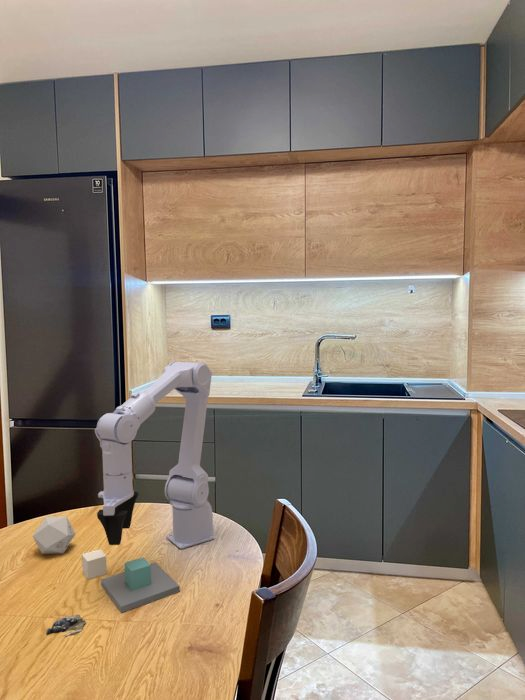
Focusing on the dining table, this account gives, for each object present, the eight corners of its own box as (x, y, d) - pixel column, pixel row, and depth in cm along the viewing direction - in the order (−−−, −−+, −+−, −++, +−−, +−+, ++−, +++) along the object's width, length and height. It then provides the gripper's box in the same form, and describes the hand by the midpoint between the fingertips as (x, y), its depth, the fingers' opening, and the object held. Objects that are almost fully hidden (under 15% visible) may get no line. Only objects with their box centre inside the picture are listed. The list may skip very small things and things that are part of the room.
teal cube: (143, 575, 103) (143, 557, 103) (151, 584, 100) (150, 564, 99) (125, 581, 101) (124, 563, 100) (132, 590, 97) (131, 571, 97)
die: (49, 566, 111) (75, 527, 114) (19, 545, 113) (45, 507, 115) (63, 561, 119) (87, 525, 122) (34, 542, 120) (59, 506, 123)
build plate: (155, 567, 109) (155, 562, 109) (179, 591, 99) (179, 585, 99) (101, 585, 102) (100, 579, 102) (121, 612, 92) (120, 606, 92)
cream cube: (101, 566, 110) (100, 548, 110) (106, 573, 106) (106, 556, 106) (82, 571, 107) (82, 554, 107) (87, 579, 104) (87, 561, 104)
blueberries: (91, 630, 88) (90, 620, 88) (44, 651, 82) (43, 640, 82) (76, 614, 93) (76, 604, 93) (31, 632, 88) (31, 622, 87)
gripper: (108, 461, 109) (110, 521, 109) (86, 483, 94) (88, 552, 95) (140, 461, 109) (142, 521, 110) (123, 483, 94) (125, 552, 95)
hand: (119, 535), depth 102 cm, fingers open, 7 cm apart
